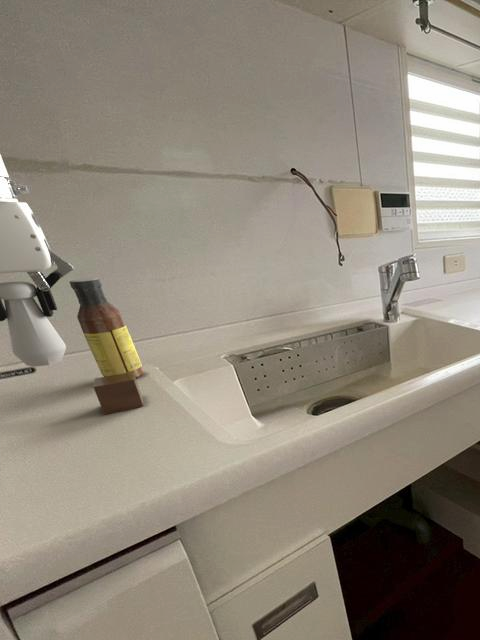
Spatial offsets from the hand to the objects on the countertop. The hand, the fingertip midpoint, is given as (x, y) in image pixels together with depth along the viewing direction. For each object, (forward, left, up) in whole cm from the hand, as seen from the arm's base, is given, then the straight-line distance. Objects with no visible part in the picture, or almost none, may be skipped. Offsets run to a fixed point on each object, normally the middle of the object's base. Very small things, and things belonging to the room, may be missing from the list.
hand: (26, 316), depth 63 cm
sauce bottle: (-7, +11, -16) cm, 21 cm away
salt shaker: (0, 0, -8) cm, 8 cm away
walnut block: (+8, +5, -16) cm, 19 cm away
